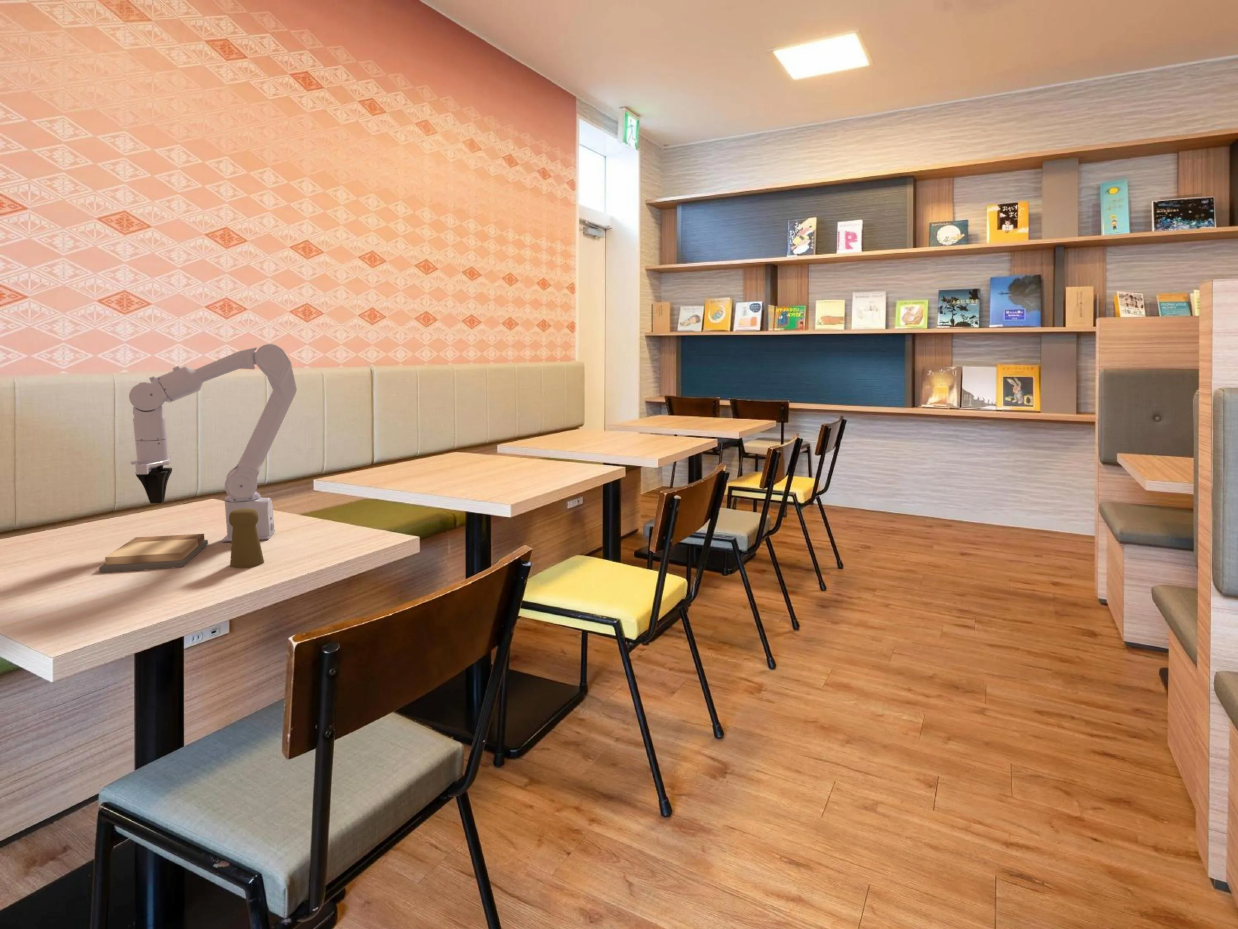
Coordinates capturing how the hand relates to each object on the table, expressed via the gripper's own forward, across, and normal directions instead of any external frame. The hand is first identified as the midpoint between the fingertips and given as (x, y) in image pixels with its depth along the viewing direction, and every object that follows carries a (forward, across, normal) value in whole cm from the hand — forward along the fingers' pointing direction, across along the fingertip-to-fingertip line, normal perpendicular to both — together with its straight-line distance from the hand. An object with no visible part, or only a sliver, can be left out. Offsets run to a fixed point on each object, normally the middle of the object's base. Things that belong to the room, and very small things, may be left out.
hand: (157, 502), depth 155 cm
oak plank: (+8, +12, +3) cm, 15 cm away
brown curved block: (+9, +4, +2) cm, 11 cm away
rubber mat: (+9, +10, +2) cm, 14 cm away
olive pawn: (+10, +20, +21) cm, 31 cm away
